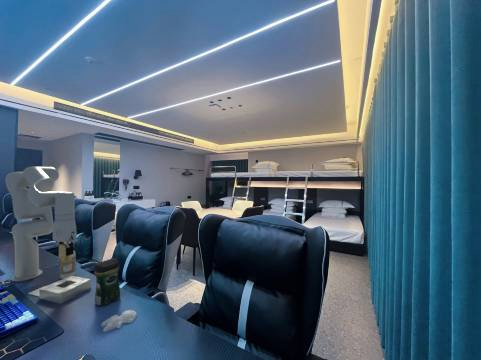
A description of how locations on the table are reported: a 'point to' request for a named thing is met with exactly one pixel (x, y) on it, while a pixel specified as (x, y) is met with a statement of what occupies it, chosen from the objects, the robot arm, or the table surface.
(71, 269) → the bath foam
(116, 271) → the coffee jar
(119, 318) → the astronaut figurine
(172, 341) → the table surface
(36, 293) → the mat
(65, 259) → the end cover
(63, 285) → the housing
